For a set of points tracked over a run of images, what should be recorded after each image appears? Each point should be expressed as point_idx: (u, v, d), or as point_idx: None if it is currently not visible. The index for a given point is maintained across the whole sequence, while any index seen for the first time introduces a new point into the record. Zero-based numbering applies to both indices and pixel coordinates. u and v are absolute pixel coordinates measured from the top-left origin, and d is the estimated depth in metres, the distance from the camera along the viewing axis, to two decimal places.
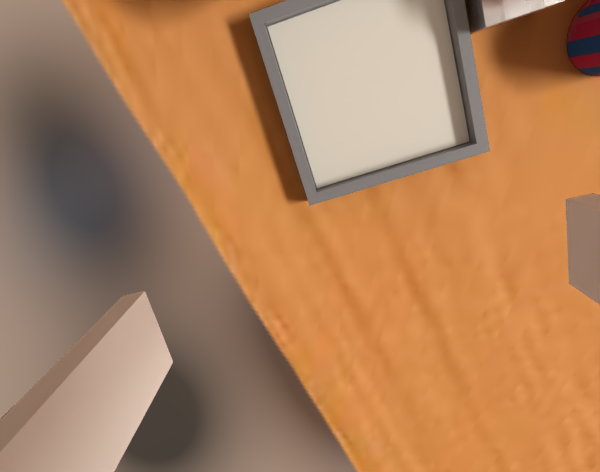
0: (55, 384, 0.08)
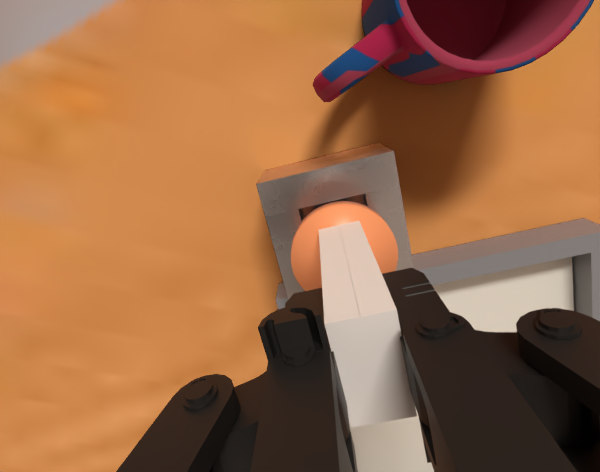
0: (344, 275, 0.10)
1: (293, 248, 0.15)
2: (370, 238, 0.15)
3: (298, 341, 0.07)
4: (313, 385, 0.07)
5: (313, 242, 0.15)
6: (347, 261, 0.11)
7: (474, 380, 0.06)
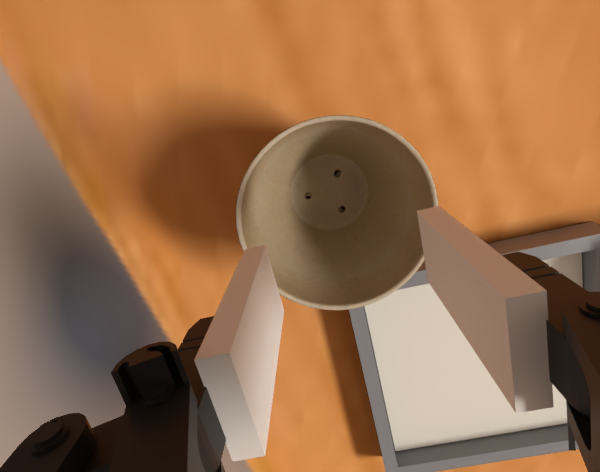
0: (239, 304, 0.10)
1: None
2: None
3: (156, 380, 0.07)
4: (170, 422, 0.07)
5: None
6: (451, 244, 0.10)
7: None
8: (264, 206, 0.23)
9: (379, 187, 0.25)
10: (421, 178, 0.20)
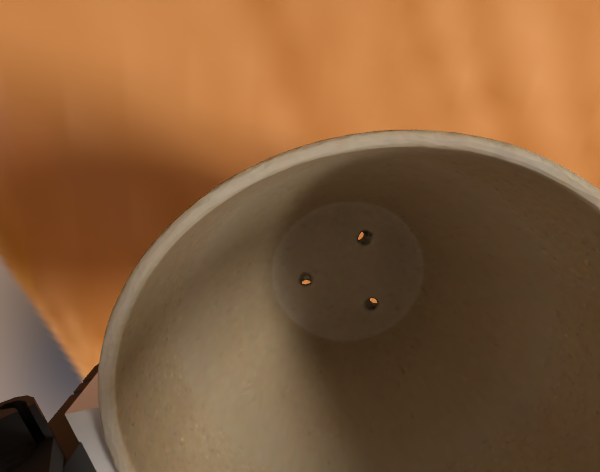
0: None
1: None
2: None
3: (11, 440, 0.07)
4: None
5: None
6: None
7: None
8: (208, 326, 0.10)
9: (453, 270, 0.12)
10: None
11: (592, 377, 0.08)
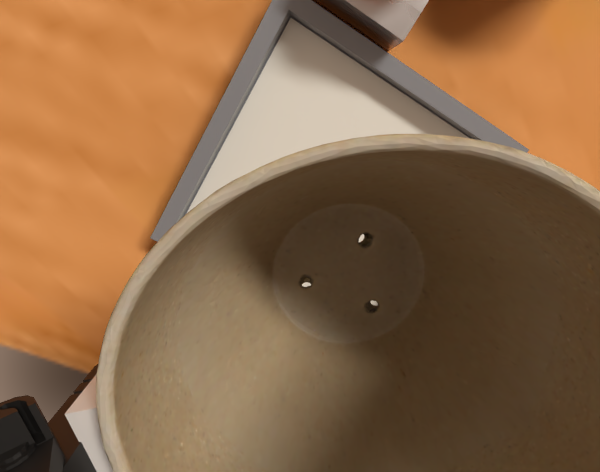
0: None
1: None
2: None
3: (11, 440, 0.07)
4: None
5: None
6: None
7: None
8: (208, 330, 0.10)
9: (454, 273, 0.12)
10: None
11: (595, 382, 0.08)
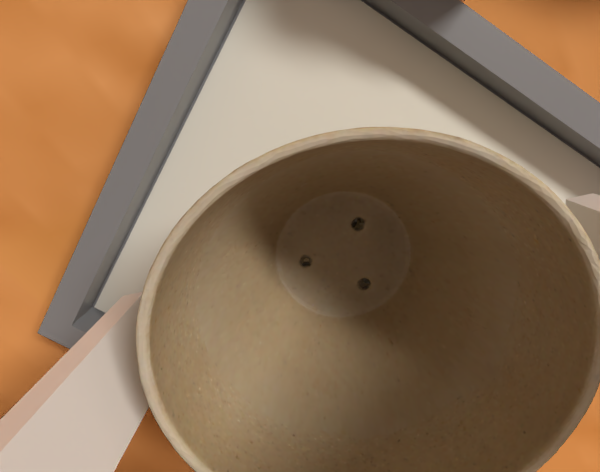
0: (55, 384, 0.08)
1: None
2: None
3: None
4: None
5: None
6: None
7: None
8: (220, 297, 0.12)
9: (436, 252, 0.14)
10: (563, 270, 0.09)
11: (545, 336, 0.10)
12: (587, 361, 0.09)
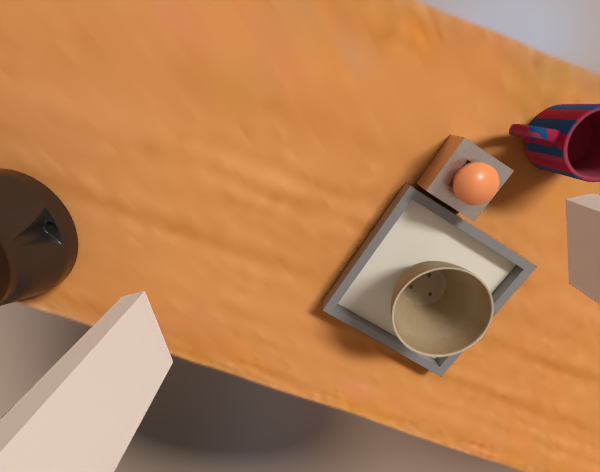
0: (55, 384, 0.08)
1: (467, 167, 0.37)
2: (490, 185, 0.37)
3: None
4: None
5: (475, 171, 0.37)
6: None
7: None
8: None
9: (454, 285, 0.44)
10: (484, 292, 0.39)
11: (482, 308, 0.41)
12: (490, 312, 0.39)
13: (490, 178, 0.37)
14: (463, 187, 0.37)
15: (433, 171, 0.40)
